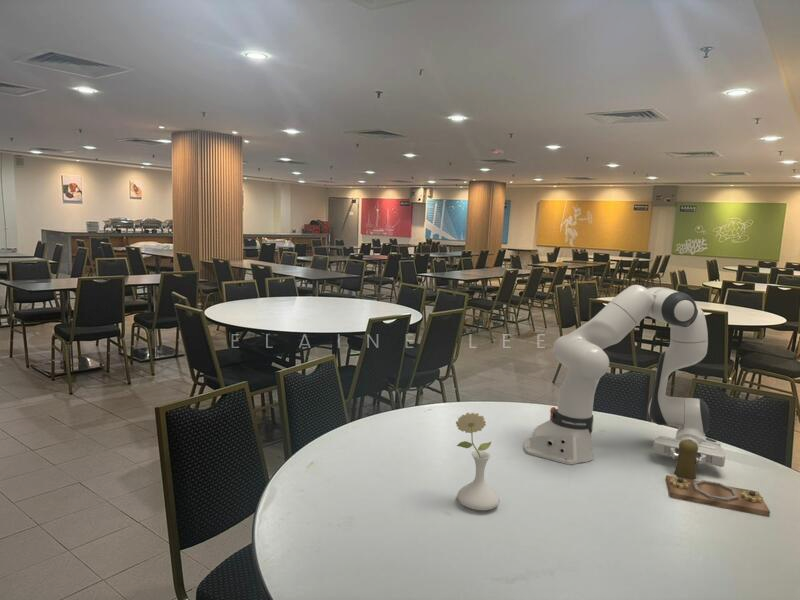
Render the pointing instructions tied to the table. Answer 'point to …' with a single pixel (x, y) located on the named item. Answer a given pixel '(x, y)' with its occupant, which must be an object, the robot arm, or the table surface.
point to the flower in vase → (477, 491)
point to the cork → (686, 460)
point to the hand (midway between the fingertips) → (686, 459)
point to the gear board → (717, 495)
